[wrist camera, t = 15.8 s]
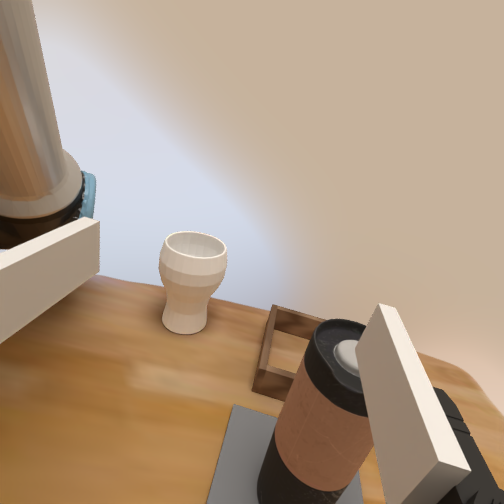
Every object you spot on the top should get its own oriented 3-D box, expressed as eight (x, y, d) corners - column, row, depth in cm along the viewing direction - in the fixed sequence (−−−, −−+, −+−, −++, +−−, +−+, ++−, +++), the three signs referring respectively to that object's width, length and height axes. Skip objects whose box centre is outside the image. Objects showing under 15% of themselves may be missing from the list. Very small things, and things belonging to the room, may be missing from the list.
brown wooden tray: (251, 390, 42) (259, 368, 40) (266, 323, 56) (272, 304, 55) (406, 440, 40) (421, 418, 38) (380, 357, 55) (390, 339, 53)
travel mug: (307, 450, 35) (372, 317, 27) (339, 532, 29) (439, 390, 20) (246, 460, 33) (296, 316, 24) (265, 552, 26) (344, 399, 18)
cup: (213, 344, 48) (231, 265, 42) (146, 337, 47) (154, 253, 40) (215, 305, 58) (229, 235, 52) (159, 298, 56) (167, 225, 50)
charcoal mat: (186, 575, 24) (188, 571, 24) (232, 408, 39) (233, 403, 38) (379, 646, 23) (383, 643, 23) (352, 446, 38) (354, 442, 37)
